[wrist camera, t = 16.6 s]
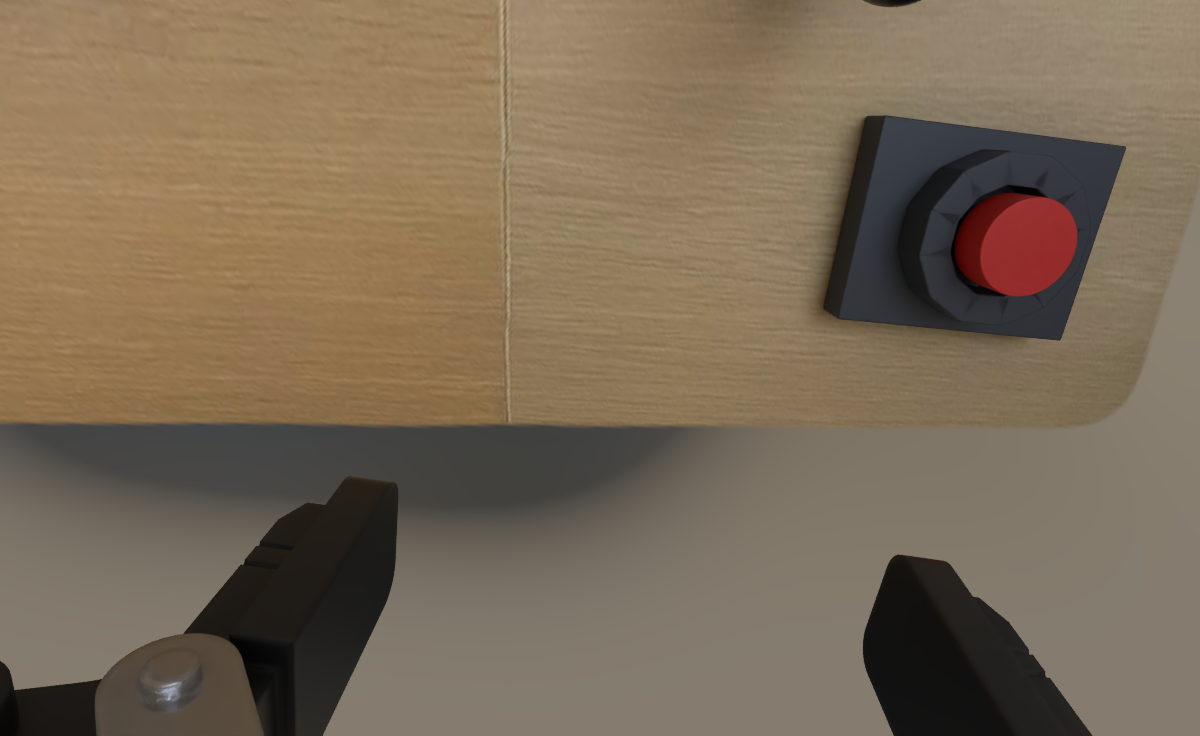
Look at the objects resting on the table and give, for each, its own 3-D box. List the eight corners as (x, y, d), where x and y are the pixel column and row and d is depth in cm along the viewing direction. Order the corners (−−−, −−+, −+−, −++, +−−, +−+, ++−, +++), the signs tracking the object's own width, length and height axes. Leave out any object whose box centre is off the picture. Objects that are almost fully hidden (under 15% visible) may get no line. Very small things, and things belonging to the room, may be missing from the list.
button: (1058, 198, 26) (1092, 202, 25) (1028, 291, 28) (1059, 301, 26) (968, 187, 26) (997, 191, 24) (942, 281, 27) (968, 292, 26)
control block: (1095, 145, 29) (1165, 148, 26) (1035, 330, 32) (1091, 353, 28) (866, 115, 28) (908, 114, 25) (822, 309, 30) (855, 331, 27)
